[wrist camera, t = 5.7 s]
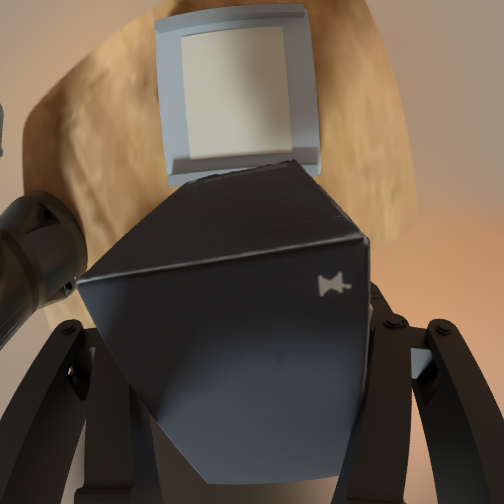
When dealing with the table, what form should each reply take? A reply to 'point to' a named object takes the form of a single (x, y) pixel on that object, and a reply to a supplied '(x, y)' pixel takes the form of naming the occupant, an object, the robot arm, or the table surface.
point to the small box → (242, 322)
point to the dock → (237, 90)
